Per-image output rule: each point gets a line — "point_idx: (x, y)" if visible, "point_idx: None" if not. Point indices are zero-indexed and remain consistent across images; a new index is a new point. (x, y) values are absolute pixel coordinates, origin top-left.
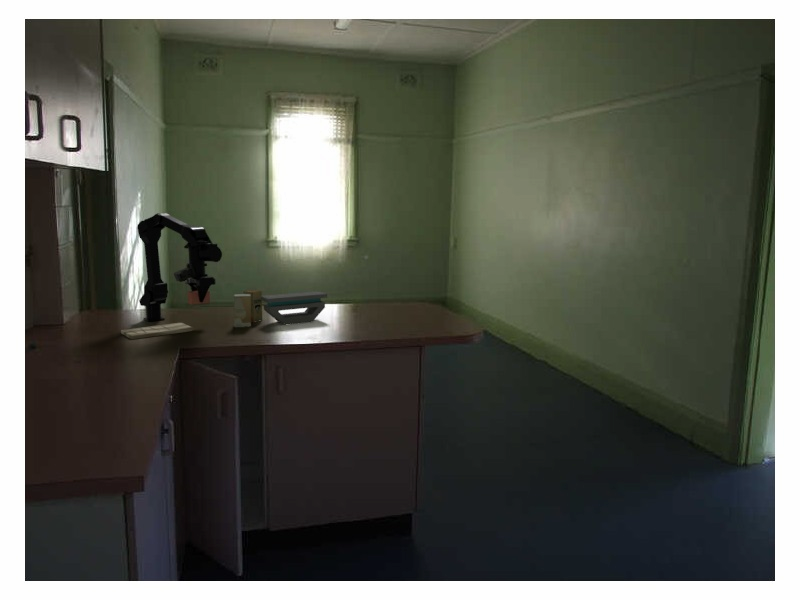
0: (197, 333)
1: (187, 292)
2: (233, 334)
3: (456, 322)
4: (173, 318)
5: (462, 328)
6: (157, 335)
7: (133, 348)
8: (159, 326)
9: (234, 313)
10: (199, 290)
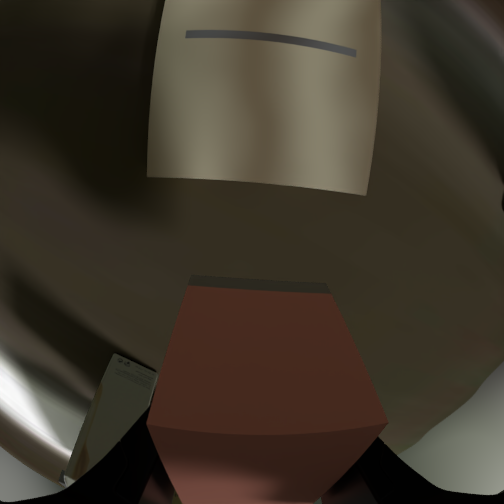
0: (79, 165)
1: (380, 409)
2: (10, 279)
3: (50, 478)
4: (495, 254)
5: (20, 459)
6: None
7: None
8: (342, 35)
9: (93, 400)
10: (80, 483)
